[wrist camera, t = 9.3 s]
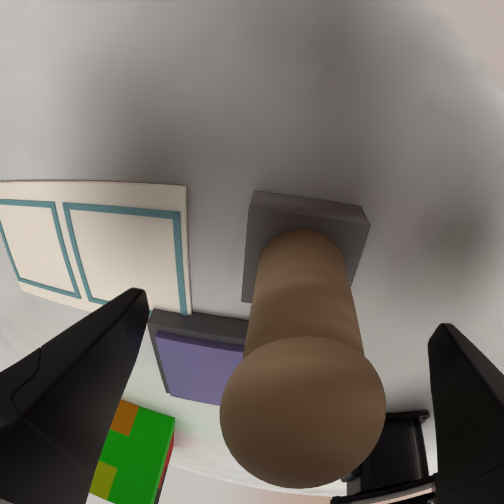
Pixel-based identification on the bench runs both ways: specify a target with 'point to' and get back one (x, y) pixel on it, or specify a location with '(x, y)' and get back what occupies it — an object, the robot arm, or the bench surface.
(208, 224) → the bench surface
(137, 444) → the puzzle toy
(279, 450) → the stamp
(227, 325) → the ink pad
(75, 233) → the print card
